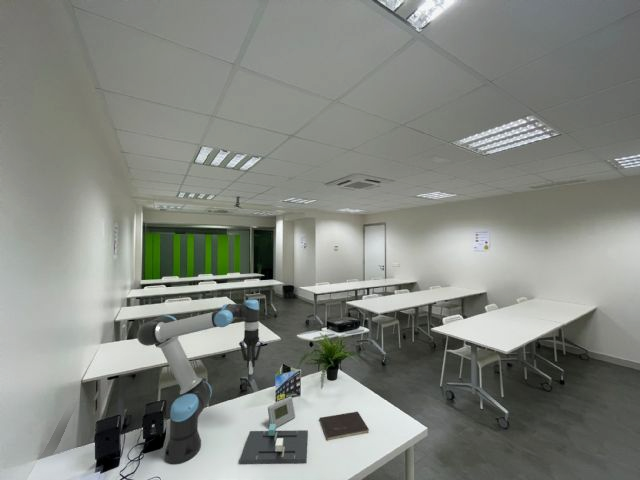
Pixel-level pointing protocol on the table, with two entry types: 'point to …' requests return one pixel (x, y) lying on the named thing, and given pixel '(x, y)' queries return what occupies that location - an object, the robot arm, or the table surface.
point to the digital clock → (281, 411)
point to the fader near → (279, 444)
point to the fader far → (272, 429)
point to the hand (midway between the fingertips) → (250, 373)
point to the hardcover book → (343, 425)
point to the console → (263, 448)
